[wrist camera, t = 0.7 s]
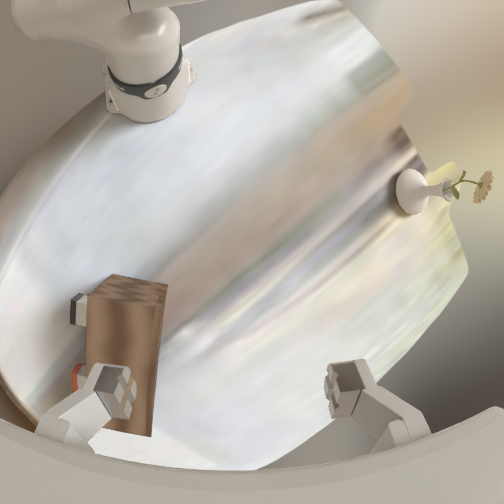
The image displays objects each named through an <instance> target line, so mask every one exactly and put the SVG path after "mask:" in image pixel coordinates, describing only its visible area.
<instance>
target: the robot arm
mask: <svg viewBox="0 0 504 504" xmlns="http://www.w3.org/2000/svg"><path fill="white" fill-rule="evenodd" d="M201 1H205V0H11V2H10V16H11V20H12V22H13V25H14V26H15V28H16V29H17V31H18V32H19V33H20V34H22V35H23V36H24V37H26V38H28V39H30V40H34V41H38V40H49V39H60V40H68V41H73V42H77V43H80V44H83V45H86V46H89V47H91V48H93V49H95V50H97V51H98V52H100V53H101V54H102V56H103V57H104V64H103V65H102V67H101V68H102V73H103V75H104V76H105V95H106V107H107V110H108V112H110V113H115V114H122V115H124V116H126V117H128V118H129V119H131V120H134V121H137V122H144V123H148V122H155V121H159V120H162V119H164V118H166V117H168V116H170V115H171V114H173V113H174V112H175V111H176V110H177V109H178V108H179V107H180V106H181V105H182V103H183V101H184V100H185V97H186V94H187V91H188V88H189V86H190V85H191V84H192V83H193V82H194V81H195V79H196V77H197V74H196V71H195V70H194V69H193V67H192V66H191V65H190V63H189V60H188V59H186V58H185V57H184V55H183V54H182V49H181V45H180V43H179V38H180V37H179V36H180V24H179V21H178V19H177V17H176V15H175V14H174V13H173V12H172V11H171V10H170V9H169V8H168V7H169V6H175V5H182V4H190V3H196V2H201ZM111 101H113V102H112V103H110V102H111ZM327 372H328V375H327V376H326V377H325V381H324V391H325V396H326V398H327V399H328V400H329V401H330V402H329V406H328V407H329V411H330V414H331V418H332V419H334V418H341V417H347V416H351V417H352V418H353V419H354V420H355V421H356V422H357V423H358V424H359V425H361V426H362V427H363V428H364V429H365V430H366V431H367V432H368V433H369V434H370V435H372V436H373V437H374V438H375V439H376V440H377V441H378V442H377V443H376V445H375V446H374V448H373V449H372V451H371V452H370V454H368V455H364V456H359V457H355V458H350V459H345V460H341V461H335V462H329V463H324V464H317V465H310V466H302V467H293V468H282V469H269V470H245V471H221V470H197V469H184V468H173V467H165V466H157V465H150V464H143V463H137V462H132V461H126V460H121V459H117V458H112V457H108V456H103V455H99V454H95V453H94V450H93V449H92V448H91V447H90V446H89V445H88V443H87V442H88V441H89V440H90V439H91V438H92V437H93V436H94V435H95V434H96V433H97V432H98V431H99V430H100V429H101V428H102V427H103V426H104V425H105V424H106V423H107V422H108V421H109V420H110V419H111V417H113V418H120V419H128V420H129V418H130V414H131V411H132V406H131V404H130V403H131V402H133V401H134V400H135V398H136V391H137V387H136V383H135V380H134V379H133V378H132V377H130V374H131V371H130V369H129V367H126V366H119V365H111V364H103V363H96V364H94V366H93V368H92V370H91V372H90V374H89V376H88V378H87V380H86V382H85V384H84V386H83V388H82V389H78V390H77V391H75V392H74V393H72V394H71V395H69V396H68V397H67V398H65V399H64V400H62V401H61V402H59V403H58V404H56V405H55V406H53V407H52V408H50V409H49V410H47V411H46V412H44V414H43V416H42V418H41V420H40V422H39V424H38V426H37V428H36V431H35V433H32V432H29V431H27V430H25V429H22V428H20V427H17V426H15V425H13V424H11V423H9V422H7V421H5V420H3V419H1V418H0V504H504V409H502V408H499V407H491V408H489V409H487V410H485V411H483V412H481V413H479V414H477V415H475V416H473V417H471V418H469V419H467V420H465V421H463V422H460V423H458V424H456V425H454V426H452V427H449V428H447V429H444V430H442V431H439V432H437V433H434V434H432V433H431V431H430V429H429V427H428V425H427V423H426V421H425V419H424V417H423V414H422V413H421V412H420V411H419V410H417V409H416V408H414V407H412V406H411V405H409V404H408V403H406V402H404V401H403V400H401V399H400V398H398V397H397V396H395V395H394V394H392V393H390V392H389V391H387V390H386V389H384V388H383V387H381V386H379V387H378V386H377V384H376V382H375V380H374V378H373V375H372V373H371V371H370V369H369V367H368V365H367V362H366V360H365V359H359V360H352V361H345V362H338V363H330V364H329V365H328V367H327Z"/></svg>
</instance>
